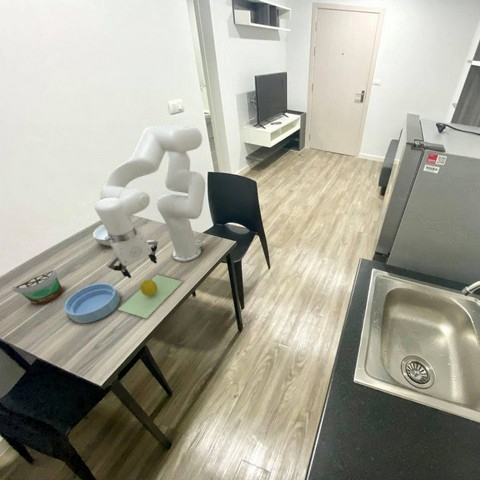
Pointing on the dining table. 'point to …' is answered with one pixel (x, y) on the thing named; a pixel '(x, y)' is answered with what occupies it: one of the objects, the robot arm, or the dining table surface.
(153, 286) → the lemon
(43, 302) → the food container
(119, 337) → the dining table surface
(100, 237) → the cereal bowl
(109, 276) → the dining table surface
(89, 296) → the bowl
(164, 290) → the napkin
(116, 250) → the robot arm
